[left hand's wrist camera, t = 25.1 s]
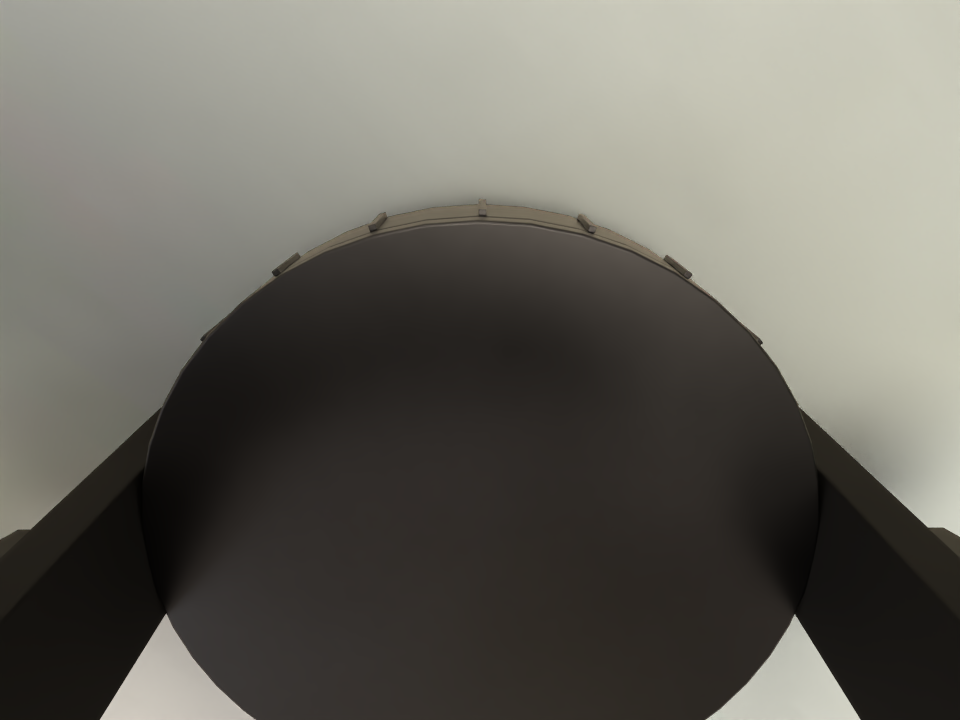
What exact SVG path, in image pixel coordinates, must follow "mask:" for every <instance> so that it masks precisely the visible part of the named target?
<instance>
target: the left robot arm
mask: <svg viewBox="0 0 960 720" xmlns="http://www.w3.org/2000/svg"><path fill="white" fill-rule="evenodd" d="M161 408H162V407H161ZM161 408H160V409H159V410H158V411H157V412H156V413H155V414H154V415H153V416H152V417H151V418H149V419H148V420H147V421H146V422H145V423H144V424H143V425H142V426H141V427H140V428H139V429H138V430H137V431H136V432H134V433H133V434H132V435H131V436H130V437H129V438H128V439H127V440H126V441H125V442H124V443H123V444H122V445H121V446H120V447H118V448H117V449H116V450H115V451H114V452H113V453H112V454H111V455H110V456H109V457H108V458H107V459H106V460H105V461H103V462H102V463H101V464H100V465H99V466H98V467H97V468H96V469H95V470H94V471H93V472H92V473H91V474H90V475H89V476H87V477H86V478H85V479H84V480H83V481H82V482H81V483H80V484H79V485H78V486H77V487H76V488H75V489H74V490H72V491H71V492H70V493H69V494H68V495H67V496H66V497H65V498H64V499H63V500H62V501H61V502H60V503H59V504H58V505H56V506H55V507H54V508H53V509H52V510H51V511H50V512H49V513H48V514H47V515H46V516H45V517H44V518H43V519H41V520H40V521H39V522H38V523H37V524H36V525H35V526H34V527H33V528H32V529H31V530H17V531H15V532H13V533H11V534H10V535H8V536H6V537H4V538H3V539H1V540H0V720H100V718H101V717H102V715H103V714H104V712H105V710H106V709H107V707H108V706H109V704H110V702H111V701H112V699H113V698H114V696H115V694H116V693H117V691H118V690H119V688H120V686H121V685H122V683H123V682H124V680H125V678H126V677H127V675H128V673H129V672H130V670H131V669H132V667H133V665H134V664H135V662H136V661H137V659H138V657H139V656H140V654H141V653H142V651H143V649H144V648H145V646H146V645H147V643H148V641H149V640H150V638H151V637H152V635H153V633H154V632H155V630H156V629H157V627H158V625H159V624H160V622H161V621H162V619H163V617H164V616H165V614H166V611H165V609H164V607H163V605H162V603H161V601H160V598H159V596H158V594H157V591H156V587H155V584H154V581H153V578H152V574H151V570H150V566H149V562H148V557H147V552H146V547H145V542H144V536H143V529H142V481H143V475H144V469H145V464H146V458H147V452H148V446H149V443H150V440H151V437H152V434H153V431H154V428H155V425H156V422H157V419H158V416H159V414H160V411H161ZM799 409H800V408H799ZM800 412H801V414H802V417H803V420H804V423H805V425H806V428H807V431H808V434H809V437H810V439H811V442H812V448H813V453H814V458H815V464H816V469H817V474H818V480H819V512H820V521H819V529H818V536H817V543H816V548H815V553H814V558H813V562H812V566H811V571H810V575H809V578H808V582H807V585H806V589H805V592H804V594H803V597H802V599H801V601H800V603H799V605H798V607H797V610H796V612H795V615H796V616H797V618H798V620H799V621H800V623H801V625H802V626H803V628H804V629H805V631H806V633H807V634H808V636H809V637H810V639H811V641H812V642H813V644H814V645H815V647H816V649H817V650H818V652H819V653H820V655H821V657H822V658H823V660H824V661H825V663H826V665H827V666H828V668H829V669H830V671H831V673H832V674H833V676H834V677H835V679H836V681H837V682H838V684H839V686H840V687H841V689H842V690H843V692H844V694H845V695H846V697H847V698H848V700H849V702H850V703H851V705H852V706H853V708H854V710H855V711H856V713H857V714H858V716H859V718H860V719H861V720H960V537H959V536H957V535H955V534H954V533H952V532H950V531H948V530H946V529H945V528H928V527H927V526H925V525H924V524H923V523H922V522H921V521H920V520H919V519H918V518H917V517H916V516H915V515H914V514H913V513H912V512H911V511H909V510H908V509H907V508H906V507H905V506H904V505H903V504H902V503H901V502H900V501H899V500H898V499H897V498H896V497H894V496H893V495H892V494H891V493H890V492H889V491H888V490H887V489H886V488H885V487H884V486H883V485H882V484H881V483H880V482H878V481H877V480H876V479H875V478H874V477H873V476H872V475H871V474H870V473H869V472H868V471H867V470H866V469H865V468H863V467H862V466H861V465H860V464H859V463H858V462H857V461H856V460H855V459H854V458H853V457H852V456H851V455H850V454H848V453H847V452H846V451H845V450H844V449H843V448H842V447H841V446H840V445H839V444H838V443H837V442H836V441H835V440H834V439H832V438H831V437H830V436H829V435H828V434H827V433H826V432H825V431H824V430H823V429H822V428H821V427H820V426H819V425H817V424H816V423H815V422H814V421H813V420H812V419H811V418H810V417H809V416H808V415H807V414H806V413H805V412H804V411H803V410H801V409H800Z"/></svg>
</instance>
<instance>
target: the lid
mask: <svg viewBox="0 0 960 720" xmlns="http://www.w3.org/2000/svg"><path fill="white" fill-rule="evenodd" d="M272 273H273V274H274V277H272V278H271V279H270V280H269V281H267V282H266V283H265V284H264V285H262V286H261V287H260V288H259V289H257V290H256V291H255V292H254V293H252V294H251V295H250V296H249V297H248V298H246V299H245V300H244V301H243V302H241V303H240V304H239V305H238V306H237V307H236V308H235V309H234V310H233V311H232V312H231V313H230V314H229V315H228V316H227V317H225V318H224V319H223V320H222V321H220V322H219V323H218V324H217V325H216V326H214V327H213V328H212V329H211V330H209V331H208V332H207V333H206V334H204V335H203V337H202V338H201V341H202V343H201V345H200V346H199V347H198V349H197V350H196V351H195V353H194V354H193V355H192V357H191V358H190V359H189V361H188V362H187V363H186V365H185V366H184V367H183V369H182V370H181V372H180V374H179V376H178V377H177V379H176V381H175V383H174V385H173V387H172V389H171V391H170V392H169V394H168V396H167V398H166V400H165V402H164V404H163V406H162V408H161V411H160V414H159V416H158V419H157V422H156V425H155V428H154V431H153V434H152V437H151V440H150V443H149V446H148V452H147V458H146V464H145V469H144V475H143V481H142V529H143V536H144V542H145V547H146V552H147V557H148V562H149V566H150V570H151V574H152V578H153V581H154V584H155V587H156V591H157V594H158V596H159V598H160V601H161V603H162V605H163V607H164V609H165V611H166V613H167V615H168V618H169V620H170V622H171V624H172V626H173V628H174V630H175V631H176V633H177V634H178V636H179V637H180V639H181V640H182V642H183V643H184V645H185V646H186V648H187V650H188V651H189V653H190V654H191V656H192V657H193V659H194V660H195V661H196V662H197V663H198V665H199V666H200V667H201V668H202V669H203V670H204V672H205V673H206V674H207V675H208V676H209V677H210V679H211V680H212V681H213V682H214V683H215V685H216V686H217V687H218V688H220V689H221V690H222V691H223V692H224V693H225V694H226V695H227V696H228V697H229V698H230V699H231V700H232V701H234V702H235V703H236V704H237V705H238V706H239V707H240V708H241V709H242V710H243V711H245V712H246V713H247V714H249V715H250V716H252V717H253V718H254V719H256V720H706V719H707V718H709V717H710V716H711V715H713V714H714V713H715V712H717V711H718V710H719V709H721V708H722V707H723V706H724V705H725V704H726V703H727V702H728V701H729V700H730V699H731V698H732V697H733V696H734V695H735V694H736V693H738V692H739V691H740V690H741V689H742V688H743V687H744V686H745V685H746V684H747V683H748V682H749V681H750V679H751V678H752V677H753V676H754V675H755V673H756V672H757V671H758V670H759V669H760V667H761V666H762V665H763V664H764V662H765V661H766V660H767V659H768V658H769V656H770V655H771V653H772V652H773V650H774V649H775V647H776V646H777V644H778V642H779V641H780V639H781V638H782V636H783V635H784V633H785V631H786V630H787V628H788V627H789V625H790V623H791V621H792V618H793V616H794V614H795V612H796V610H797V607H798V605H799V603H800V601H801V599H802V597H803V594H804V592H805V589H806V585H807V582H808V578H809V575H810V571H811V566H812V562H813V558H814V553H815V548H816V543H817V536H818V529H819V521H820V512H819V480H818V474H817V469H816V464H815V458H814V453H813V448H812V442H811V439H810V437H809V434H808V431H807V428H806V425H805V423H804V420H803V417H802V414H801V412H800V409H799V406H798V403H797V402H796V400H795V398H794V396H793V394H792V393H791V391H790V389H789V387H788V385H787V384H786V382H785V380H784V378H783V376H782V375H781V373H780V371H779V369H778V367H777V366H776V365H775V363H774V362H773V361H772V359H771V358H770V357H769V356H768V354H767V353H766V352H765V350H764V349H763V348H762V347H761V344H762V343H763V342H762V341H761V340H760V338H759V337H757V336H756V335H755V334H754V333H752V332H751V331H750V330H749V329H748V328H746V327H745V326H744V325H743V324H741V323H740V322H739V321H738V320H737V319H736V318H735V317H734V316H733V315H732V314H731V313H730V312H728V311H727V310H726V309H725V308H724V307H723V306H722V305H721V304H720V303H719V302H718V301H717V300H716V299H714V298H713V297H712V296H711V295H709V294H708V293H707V292H706V291H705V290H703V289H702V288H701V287H700V286H698V285H697V284H696V283H695V282H693V281H692V280H691V279H690V277H691V276H692V273H690V272H689V271H688V270H687V269H685V268H684V267H683V266H681V265H680V264H679V263H678V262H676V261H675V260H674V259H672V258H671V257H670V256H668V255H666V256H665V258H664V260H663V259H662V258H661V257H659V256H658V255H656V254H655V253H653V252H652V251H650V250H649V249H647V248H645V247H643V246H641V245H639V244H637V243H635V242H633V241H631V240H629V239H627V238H625V237H623V236H621V235H619V234H617V233H615V232H613V231H611V230H609V229H606V228H603V227H600V226H597V225H594V224H593V223H592V222H591V221H590V220H589V219H588V218H587V217H586V216H585V215H582V214H579V215H578V218H574V217H571V216H567V215H562V214H557V213H552V212H547V211H542V210H537V209H532V208H527V207H516V206H500V205H486V199H479V204H474V205H460V206H447V207H433V208H428V209H423V210H418V211H414V212H409V213H404V214H399V215H395V216H390V217H387V215H386V212H385V213H381V214H379V215H378V216H377V217H376V218H375V219H374V220H373V221H372V222H371V223H370V224H367V225H364V226H361V227H358V228H356V229H353V230H350V231H347V232H345V233H343V234H341V235H339V236H337V237H335V238H334V239H332V240H330V241H328V242H326V243H324V244H322V245H320V246H318V247H316V248H314V249H312V250H311V251H309V252H307V253H306V254H304V255H303V256H301V257H300V255H299V254H298V253H296V254H294V255H293V256H292V257H290V258H289V259H288V260H286V261H285V262H284V263H282V264H281V265H280V266H279V267H277V268H276V269H275V270H273V271H272Z"/></svg>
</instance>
